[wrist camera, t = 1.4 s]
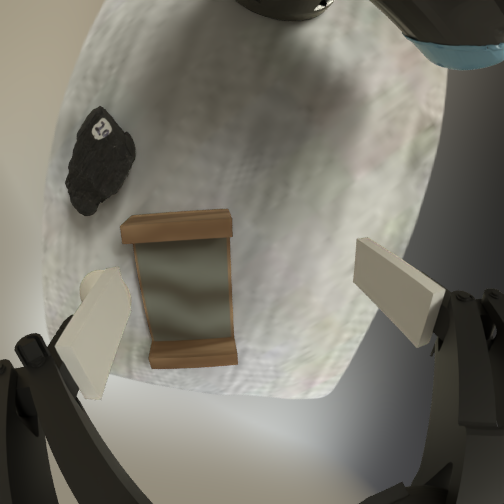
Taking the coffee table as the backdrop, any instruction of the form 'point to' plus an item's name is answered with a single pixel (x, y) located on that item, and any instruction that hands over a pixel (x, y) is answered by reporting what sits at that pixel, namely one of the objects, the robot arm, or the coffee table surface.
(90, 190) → the mineral
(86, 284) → the cream glossy rounded part
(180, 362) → the rest
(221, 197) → the coffee table surface
